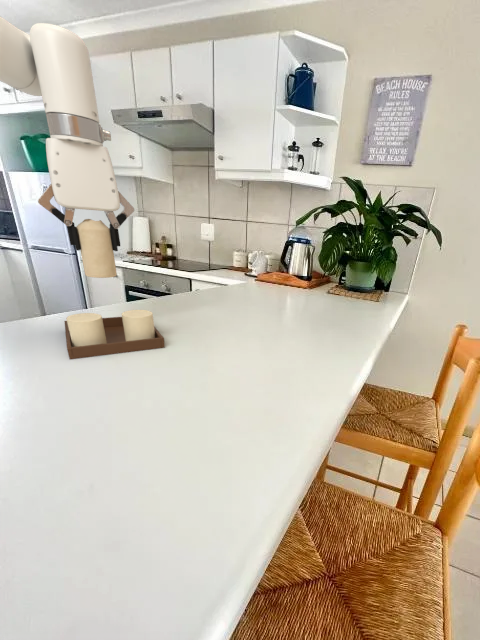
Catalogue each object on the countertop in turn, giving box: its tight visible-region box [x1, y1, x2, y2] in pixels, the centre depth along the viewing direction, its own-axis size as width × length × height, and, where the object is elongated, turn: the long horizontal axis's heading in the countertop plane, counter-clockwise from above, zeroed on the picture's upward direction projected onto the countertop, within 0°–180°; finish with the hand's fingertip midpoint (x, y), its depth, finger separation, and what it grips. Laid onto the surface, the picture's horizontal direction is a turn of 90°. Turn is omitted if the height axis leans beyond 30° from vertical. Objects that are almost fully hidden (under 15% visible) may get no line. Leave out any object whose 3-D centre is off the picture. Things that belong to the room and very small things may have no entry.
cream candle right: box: [121, 309, 155, 341], centre depth 65 cm, size 6×6×6 cm
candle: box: [75, 218, 118, 279], centre depth 62 cm, size 6×6×10 cm
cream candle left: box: [65, 312, 107, 347], centre depth 60 cm, size 6×6×6 cm
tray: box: [63, 316, 166, 360], centre depth 67 cm, size 16×17×3 cm
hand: (96, 249), depth 62 cm, fingers closed on candle, 5 cm apart
